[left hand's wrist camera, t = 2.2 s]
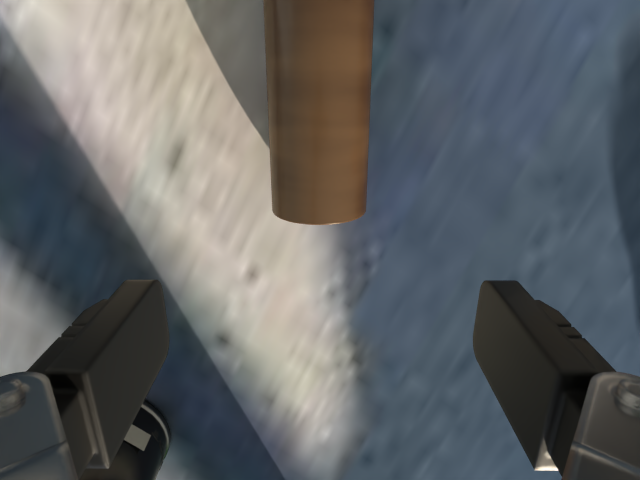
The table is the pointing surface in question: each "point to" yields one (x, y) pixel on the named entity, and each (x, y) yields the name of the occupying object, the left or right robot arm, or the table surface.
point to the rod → (319, 107)
